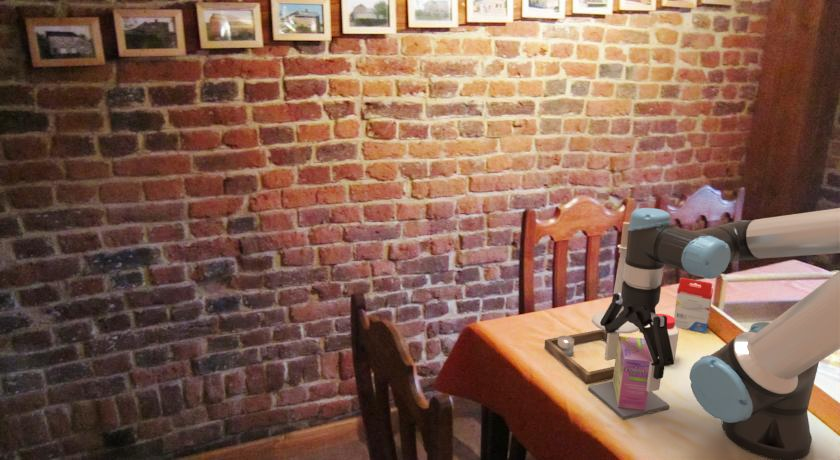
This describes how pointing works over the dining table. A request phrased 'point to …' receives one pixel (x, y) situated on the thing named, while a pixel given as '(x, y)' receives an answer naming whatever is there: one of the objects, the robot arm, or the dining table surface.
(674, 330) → the pill bottle
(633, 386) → the box
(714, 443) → the dining table surface
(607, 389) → the coaster
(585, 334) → the wooden tray
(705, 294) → the ink box
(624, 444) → the dining table surface
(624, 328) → the candlestick
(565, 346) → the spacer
